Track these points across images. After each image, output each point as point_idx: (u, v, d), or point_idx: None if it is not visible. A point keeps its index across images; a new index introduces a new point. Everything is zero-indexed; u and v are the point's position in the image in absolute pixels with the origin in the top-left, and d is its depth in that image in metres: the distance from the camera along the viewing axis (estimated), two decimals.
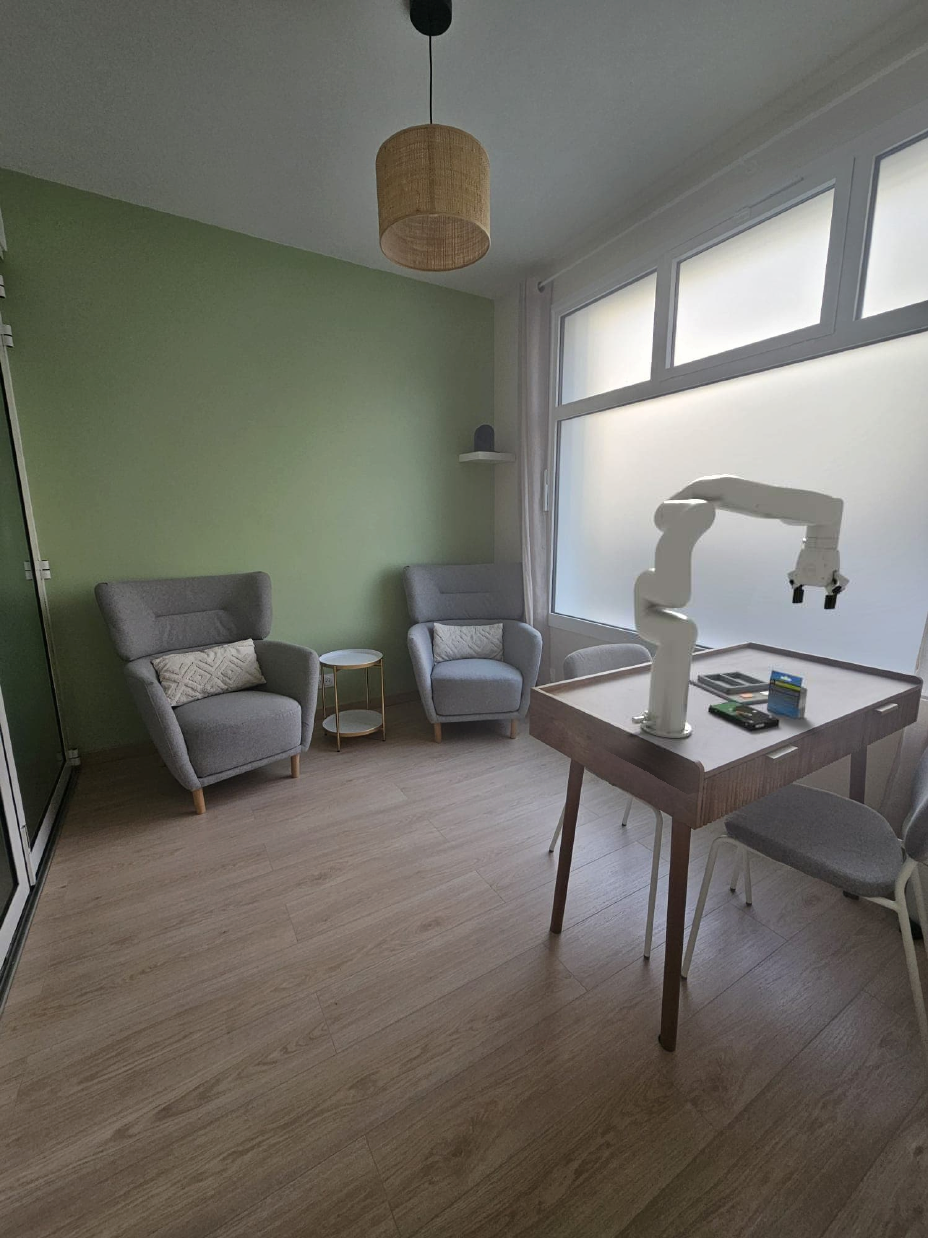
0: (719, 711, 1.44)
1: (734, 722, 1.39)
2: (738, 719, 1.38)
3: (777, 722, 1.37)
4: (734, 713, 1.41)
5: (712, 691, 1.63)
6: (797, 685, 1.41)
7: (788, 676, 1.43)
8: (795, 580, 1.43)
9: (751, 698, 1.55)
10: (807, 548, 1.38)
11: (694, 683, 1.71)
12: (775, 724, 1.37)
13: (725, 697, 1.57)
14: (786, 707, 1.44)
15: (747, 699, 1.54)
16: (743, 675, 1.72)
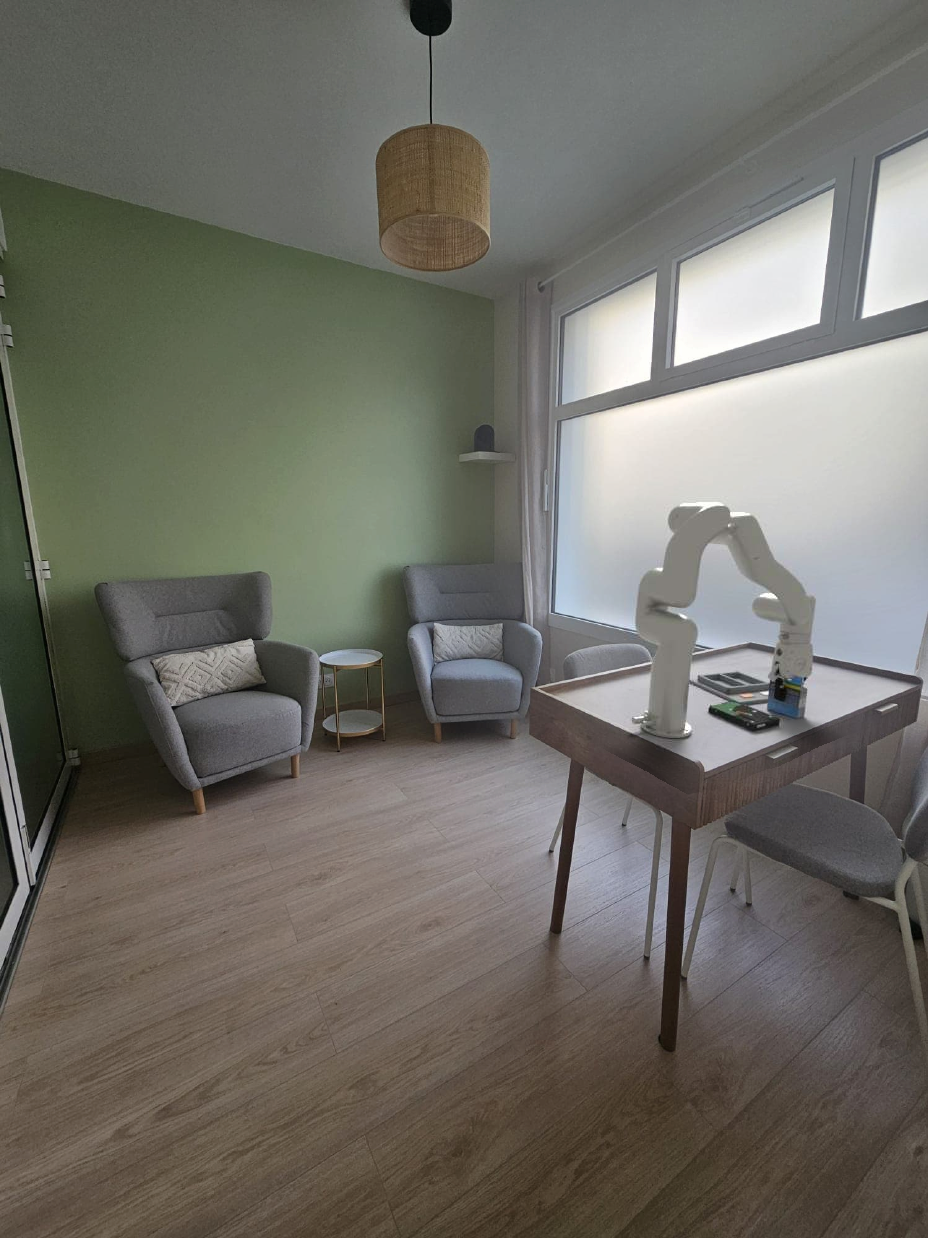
0: (719, 711, 1.43)
1: (735, 722, 1.39)
2: (739, 719, 1.37)
3: (777, 722, 1.37)
4: (735, 713, 1.41)
5: (712, 691, 1.63)
6: (797, 685, 1.41)
7: None
8: (787, 676, 1.40)
9: (751, 698, 1.55)
10: (803, 644, 1.38)
11: (694, 683, 1.71)
12: (776, 724, 1.37)
13: (725, 697, 1.57)
14: (786, 707, 1.44)
15: (747, 699, 1.54)
16: (743, 675, 1.72)
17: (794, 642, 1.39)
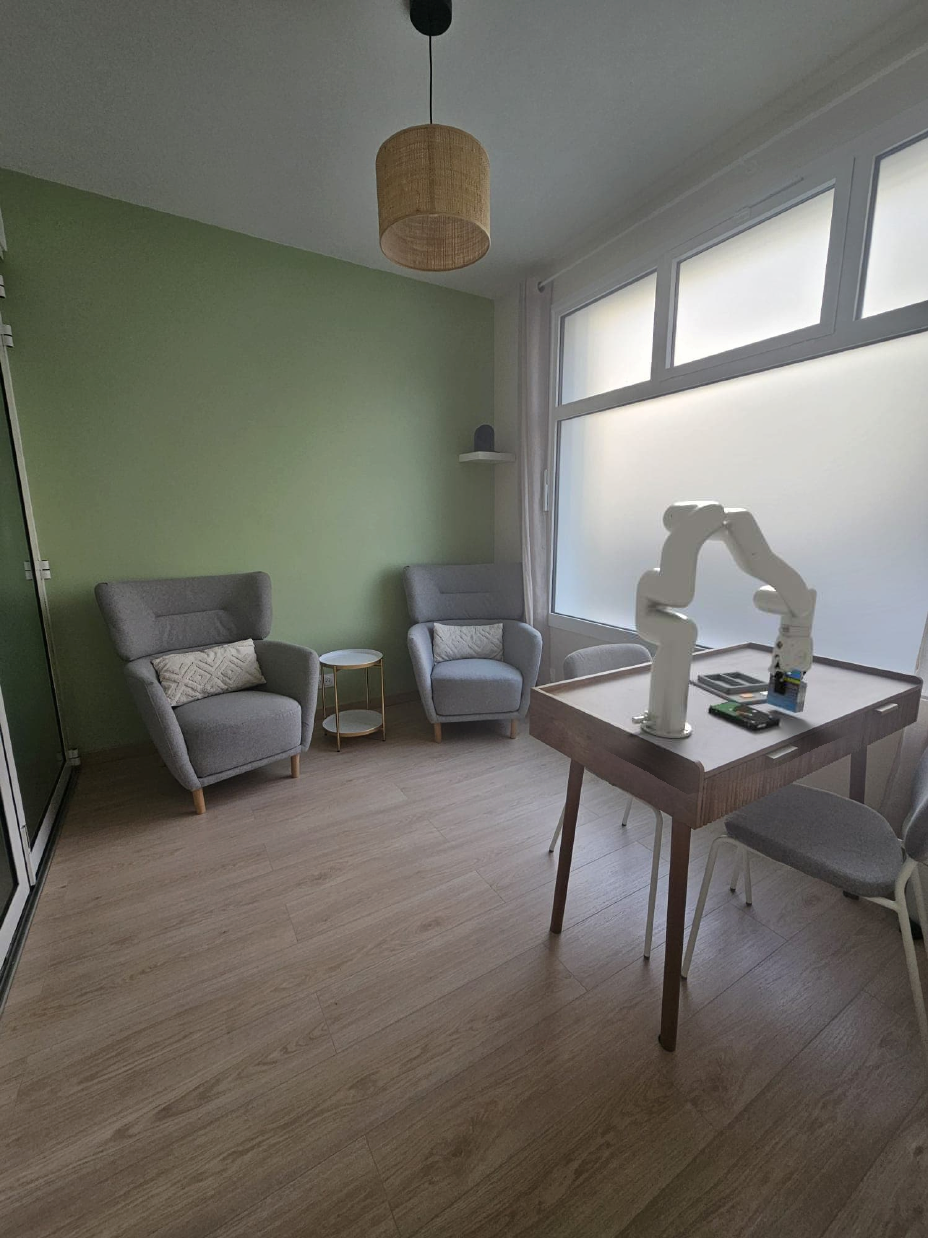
0: (720, 711, 1.43)
1: (736, 722, 1.39)
2: (740, 719, 1.37)
3: (778, 722, 1.37)
4: (735, 713, 1.41)
5: (712, 691, 1.63)
6: (796, 678, 1.40)
7: None
8: (787, 669, 1.40)
9: (751, 698, 1.55)
10: (804, 637, 1.38)
11: (694, 683, 1.71)
12: (776, 724, 1.37)
13: (725, 697, 1.57)
14: (785, 701, 1.43)
15: (747, 699, 1.54)
16: (743, 675, 1.72)
17: (794, 635, 1.38)
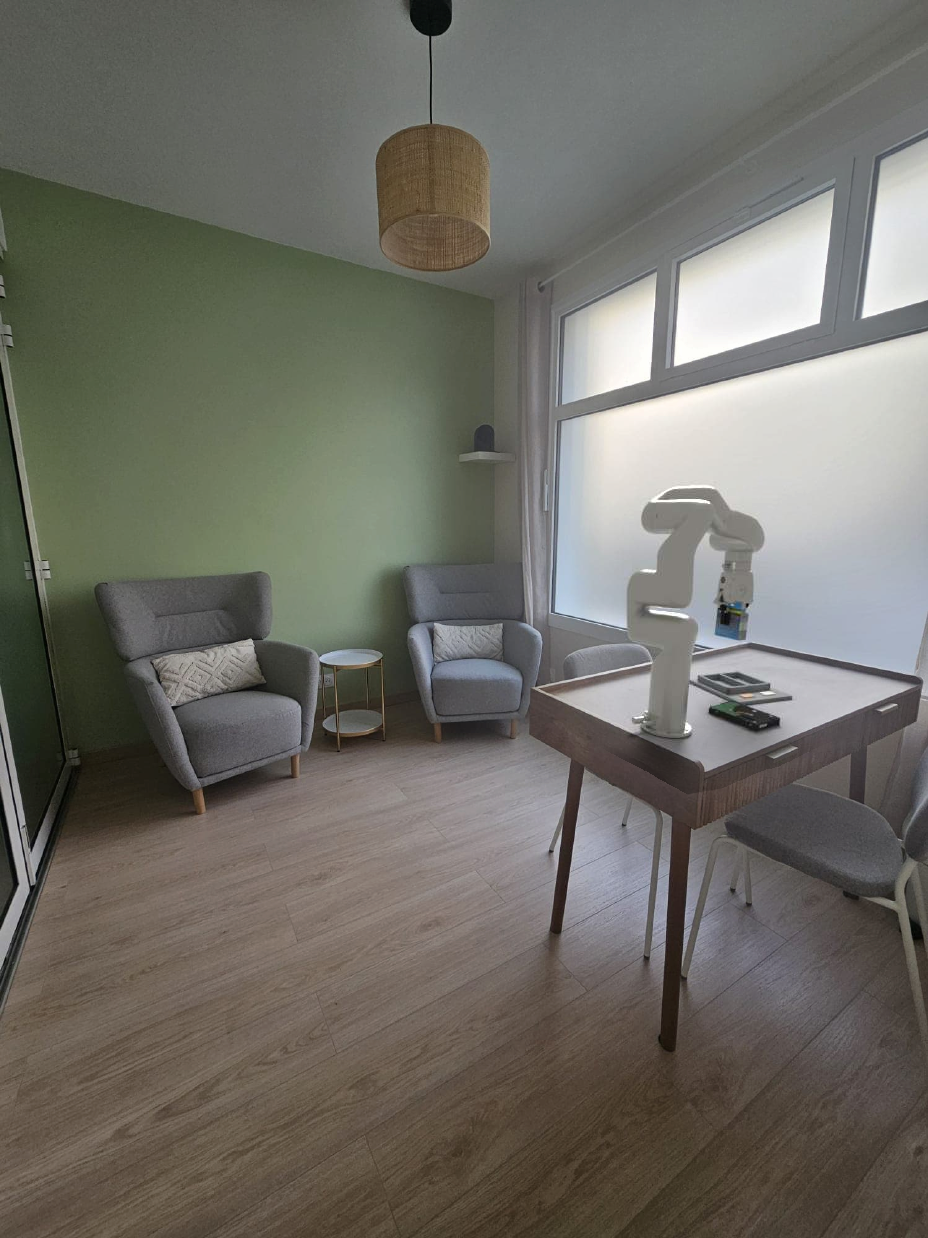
0: (720, 712, 1.43)
1: (737, 723, 1.38)
2: (741, 720, 1.37)
3: (778, 721, 1.38)
4: (736, 713, 1.41)
5: (712, 691, 1.63)
6: (738, 609, 1.57)
7: None
8: (729, 601, 1.56)
9: (751, 698, 1.55)
10: (743, 571, 1.54)
11: (694, 683, 1.71)
12: (776, 723, 1.37)
13: (725, 697, 1.57)
14: (730, 630, 1.60)
15: (747, 699, 1.54)
16: (743, 675, 1.72)
17: (735, 569, 1.55)
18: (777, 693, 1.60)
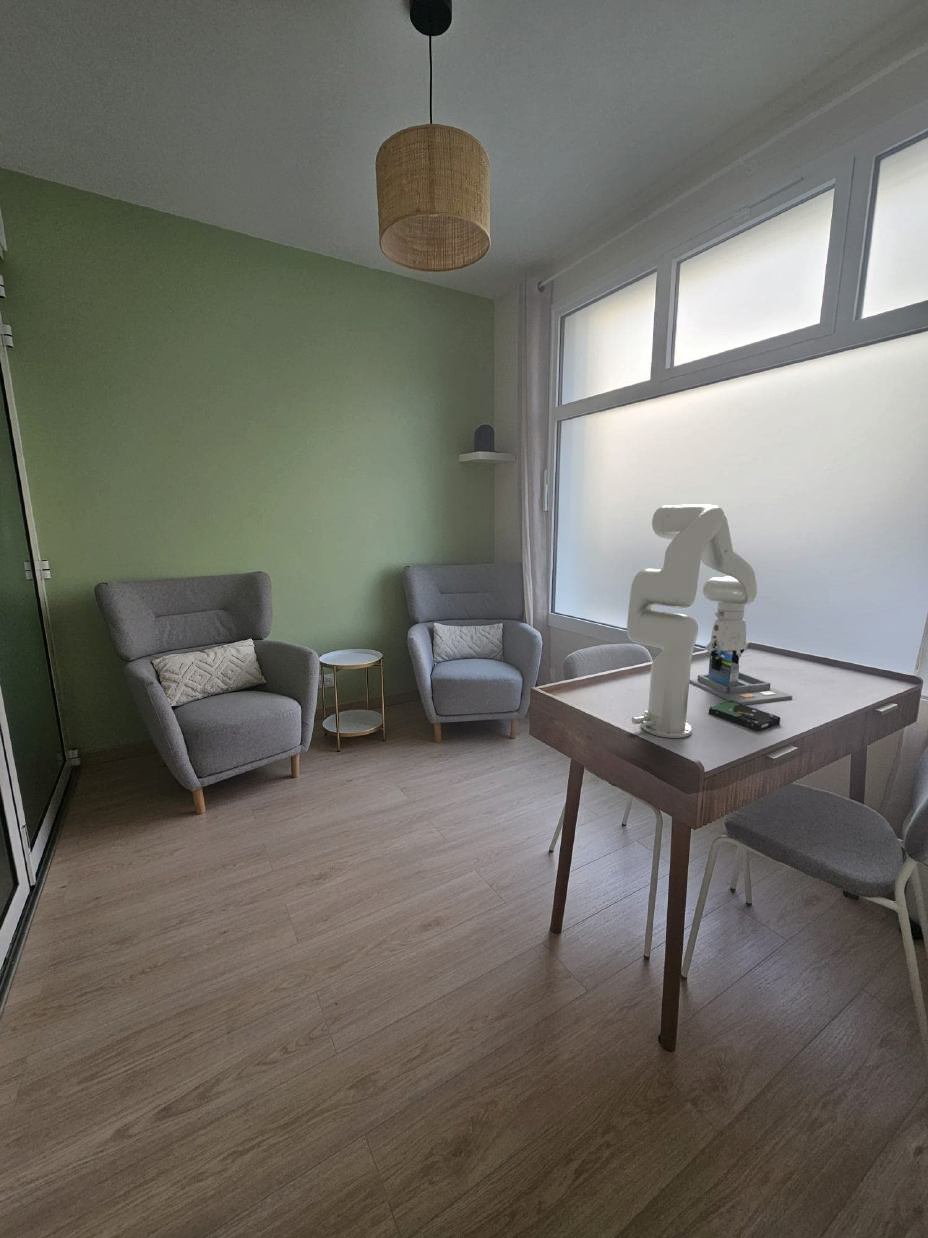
0: (721, 712, 1.42)
1: (738, 723, 1.38)
2: (743, 720, 1.37)
3: (778, 720, 1.38)
4: (736, 714, 1.41)
5: (712, 691, 1.63)
6: (728, 661, 1.60)
7: (722, 653, 1.63)
8: (723, 649, 1.60)
9: (751, 698, 1.55)
10: (736, 620, 1.58)
11: (694, 683, 1.71)
12: (777, 723, 1.38)
13: (725, 697, 1.57)
14: (721, 680, 1.64)
15: (747, 699, 1.54)
16: (743, 675, 1.72)
17: (728, 618, 1.59)
18: (777, 693, 1.60)
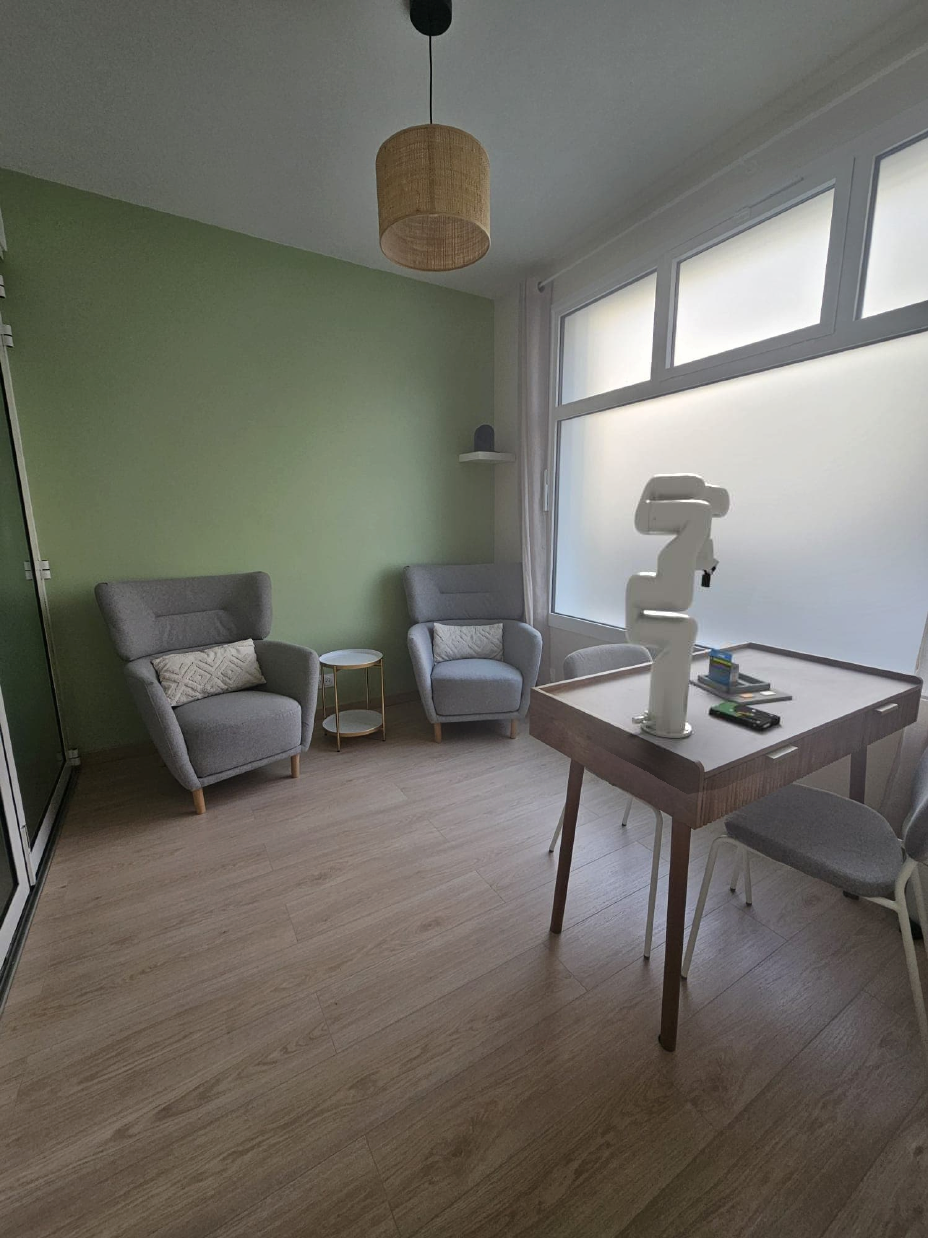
0: (722, 713, 1.42)
1: (740, 723, 1.38)
2: (744, 720, 1.37)
3: (779, 720, 1.38)
4: (737, 714, 1.40)
5: (712, 691, 1.63)
6: (728, 661, 1.60)
7: (722, 653, 1.63)
8: None
9: (751, 698, 1.55)
10: None
11: (694, 683, 1.71)
12: (777, 722, 1.38)
13: (725, 697, 1.57)
14: (721, 680, 1.64)
15: (747, 699, 1.54)
16: (743, 675, 1.72)
17: None
18: (777, 693, 1.60)
